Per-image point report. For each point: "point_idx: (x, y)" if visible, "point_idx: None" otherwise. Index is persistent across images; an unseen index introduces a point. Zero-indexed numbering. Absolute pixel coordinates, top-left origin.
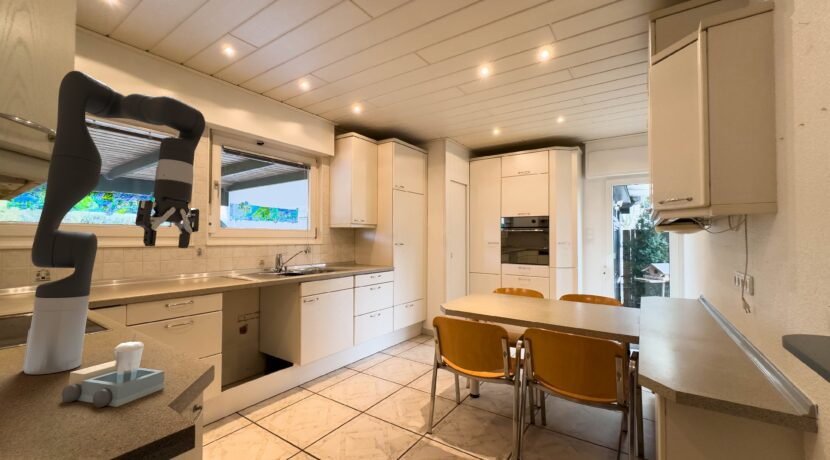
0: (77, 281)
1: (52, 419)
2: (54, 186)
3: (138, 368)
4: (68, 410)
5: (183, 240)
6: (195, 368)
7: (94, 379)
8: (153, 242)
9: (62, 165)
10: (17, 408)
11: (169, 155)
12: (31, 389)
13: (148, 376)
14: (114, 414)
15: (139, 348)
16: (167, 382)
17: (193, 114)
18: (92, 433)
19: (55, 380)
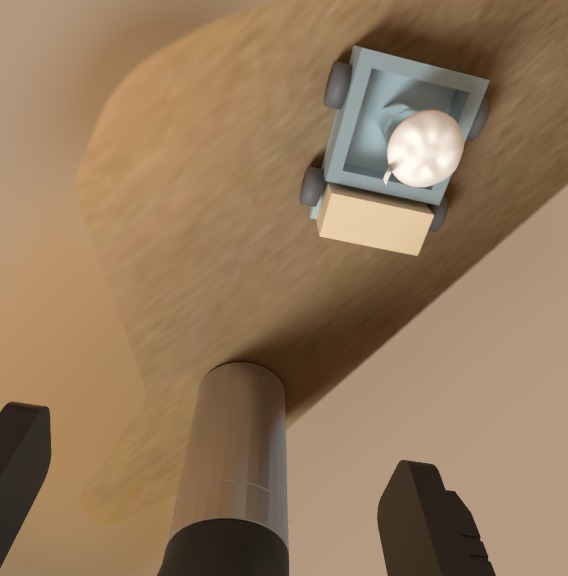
0: (248, 570)
1: (519, 158)
2: None
3: (394, 111)
4: (476, 167)
5: (5, 504)
6: (170, 71)
7: (426, 188)
8: (435, 488)
9: None
10: (454, 267)
11: None
12: (359, 329)
13: (411, 60)
14: (514, 42)
15: (435, 110)
16: (301, 70)
17: None
18: None
19: (308, 333)
